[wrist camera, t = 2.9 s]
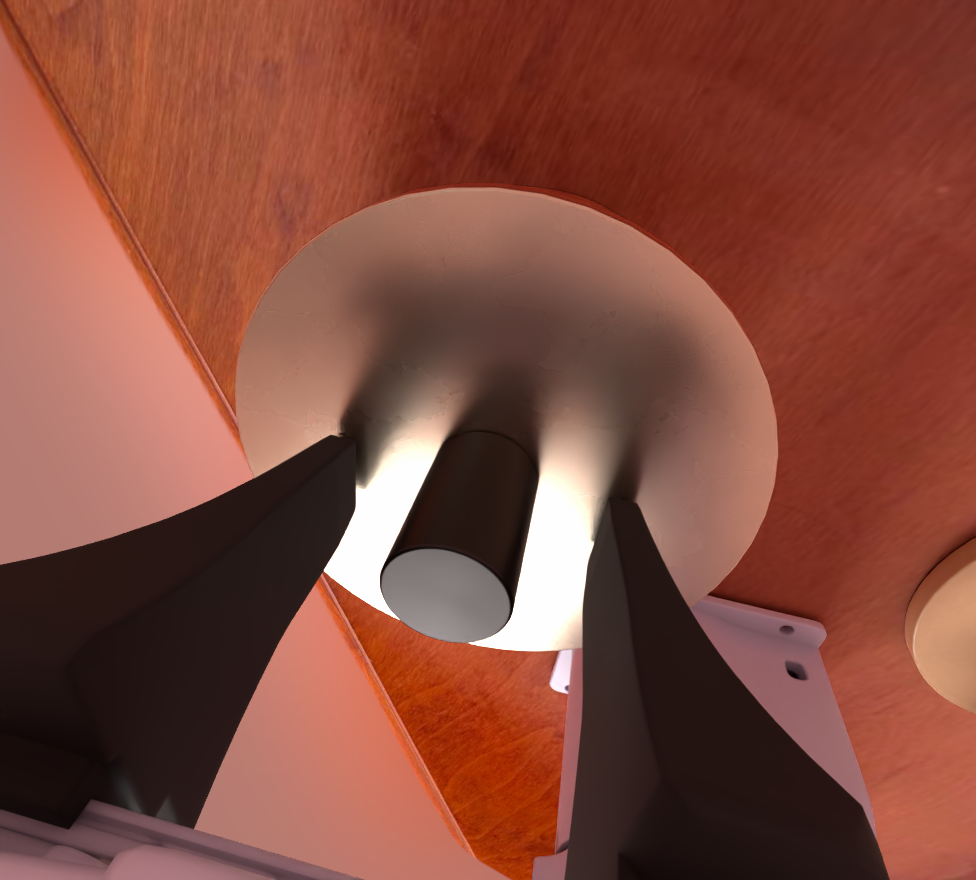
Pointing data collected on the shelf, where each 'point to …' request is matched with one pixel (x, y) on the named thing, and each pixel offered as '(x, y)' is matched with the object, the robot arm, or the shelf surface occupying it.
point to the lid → (509, 404)
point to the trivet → (947, 627)
